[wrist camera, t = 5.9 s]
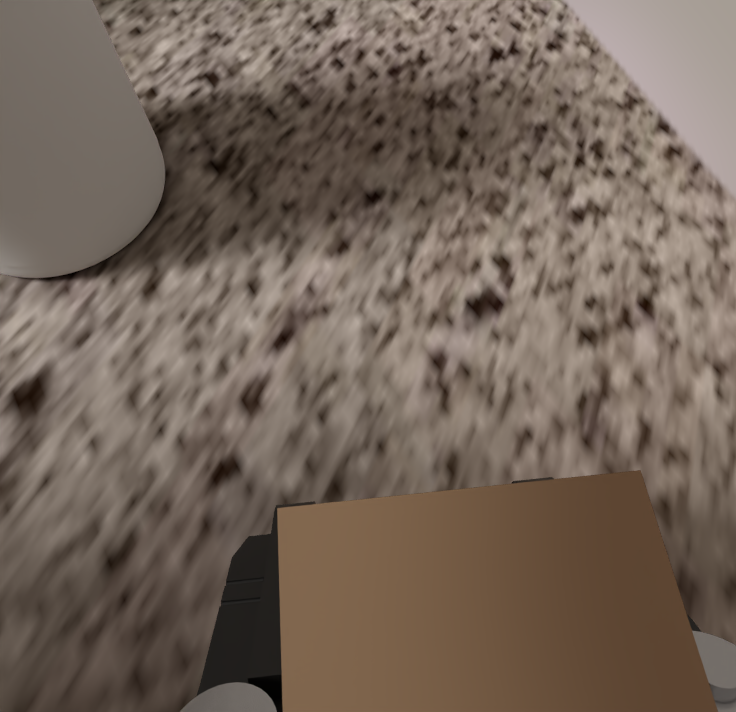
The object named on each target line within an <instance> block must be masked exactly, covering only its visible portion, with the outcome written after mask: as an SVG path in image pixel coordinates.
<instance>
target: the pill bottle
mask: <svg viewBox="0 0 736 712" xmlns="http://www.w3.org/2000/svg"><path fill="white" fill-rule="evenodd" d="M164 185H165V165H164V160H163V156H162V152H161V149H160V147H159V143H158V140H157V137H156V135H155V133H154V131H153V129H152V126H151V124H150V122H149V120H148V118H147V116H146V114H145V111H144V109H143V107H142V105H141V103H140V101H139V99H138V97H137V94H136V92H135V90H134V88H133V86H132V84H131V82H130V79H129V77H128V75H127V73H126V71H125V69H124V67H123V64H122V62H121V60H120V58H119V56H118V54H117V52H116V49H115V47H114V45H113V43H112V41H111V39H110V37H109V34H108V32H107V30H106V28H105V26H104V24H103V22H102V19H101V17H100V15H99V13H98V11H97V9H96V7H95V4H94V2H93V0H0V274H4V275H8V276H14V277H22V278H46V277H54V276H60V275H65V274H69V273H73V272H76V271H80V270H83V269H85V268H88V267H90V266H93V265H95V264H97V263H99V262H101V261H103V260H105V259H107V258H109V257H110V256H112V255H114V254H115V253H117V252H118V251H120V250H121V249H123V248H124V247H125V246H126V245H128V244H129V243H130V242H131V241H132V240H133V239H135V238H136V237H137V236H138V235H139V234H140V232H141V231H142V230H143V229H144V228H145V227H146V225H147V224H148V223H149V221H150V220H151V218H152V217H153V215H154V214H155V212H156V210H157V208H158V206H159V203H160V201H161V198H162V194H163V190H164Z"/></svg>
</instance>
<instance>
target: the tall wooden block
mask: <svg viewBox="0 0 736 712" xmlns="http://www.w3.org/2000/svg"><path fill="white" fill-rule="evenodd" d="M277 519H278V556H279V593H280V630H281V667H282V704H283V712H718V710H717V707H716V704H715V701H714V698H713V694H712V691H711V688H710V685H709V682H708V679H707V676H706V673H705V670H704V666H703V663H702V660H701V657H700V654H699V651H698V648H697V645H696V642H695V638H694V635H693V632H692V629H691V626H690V623H689V620H688V617H687V614H686V611H685V607H684V604H683V601H682V598H681V595H680V592H679V589H678V586H677V583H676V579H675V576H674V573H673V570H672V567H671V564H670V561H669V558H668V555H667V551H666V548H665V545H664V542H663V539H662V536H661V533H660V530H659V527H658V524H657V520H656V517H655V514H654V511H653V508H652V505H651V502H650V499H649V496H648V492H647V489H646V486H645V483H644V480H643V477H642V474H641V471H640V470H639V471H629V472H619V473H610V474H600V475H590V476H581V477H571V478H562V479H552V480H542V481H533V482H523V483H514V484H504V485H494V486H485V487H475V488H466V489H456V490H446V491H437V492H427V493H418V494H408V495H398V496H389V497H379V498H370V499H360V500H350V501H341V502H331V503H322V504H312V505H302V506H293V507H283V508H277Z"/></svg>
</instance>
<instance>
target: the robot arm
mask: <svg viewBox="0 0 736 712" xmlns="http://www.w3.org/2000/svg"><path fill="white" fill-rule="evenodd" d="M552 479H554V478H552V477H549V478H540V479H530V480H521V481H513V482H512V483H511V484H514V483H523V482H533V481H542V480H552ZM312 504H316V503H315V501H314V502H305V503H295V504H285V505H276V507H275V512H274V518H273V524H272V530H271V534H267V535H257V536H249V537H248V538H247V539H246V540H245V542H244V543H243V544H242V546H241V547H240V548H239V549H238V551H237V552H236V553H235V555H234V556H233V557H232V560H231V564H230V568H229V572H228V576H227V580H226V586H225V588H224V592H223V596H222V600H221V607H220V608H219V612H218V616H217V620H216V624H215V628H214V632H213V636H212V639H211V643H210V647H209V651H208V655H207V659H206V663H205V667H204V671H203V675H202V679H201V683H200V687H199V690H198V693H197V696H196V697H195V698H194V699H193V700H191V701H190V702H189V703H188V704H187V705H186V706H185V707H184V708H183V709H182V710H181V711H180V712H283V704H282V667H281V630H280V593H279V556H278V519H277V508H283V507H293V506H302V505H312ZM686 614H687V613H686ZM687 617H688V620H689V623H690V626H691V629H692V632H693V635H694V638H695V642H696V645H697V648H698V651H699V654H700V657H701V660H702V663H703V666H704V670H705V673H706V676H707V679H708V682H709V685H710V688H711V691H712V694H713V698H714V701H715V704H716V707H717V710H718V712H736V645H734V644H733V643H730V642H728V641H726V640H724V639H722V638H719V637H717V636H714V635H711V634H707V633H703V632H701V631H700V629H699V628H698V627H697V626H696V624H695V623H694V622H693V621H692V619H691V618H690V617H689V616H688V614H687Z"/></svg>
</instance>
